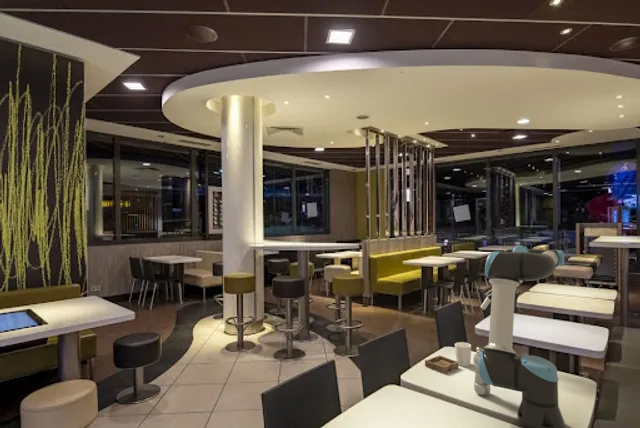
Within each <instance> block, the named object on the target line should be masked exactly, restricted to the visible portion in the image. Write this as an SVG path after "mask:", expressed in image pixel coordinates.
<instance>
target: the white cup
mask: <svg viewBox="0 0 640 428" xmlns="http://www.w3.org/2000/svg"><path fill="white" fill-rule="evenodd" d="M454 349H455V361H457V362H458V366H459V365H460V366H461V367H470V366H471V361H472V344H470V343H468V342H464V341H460V342H459V341H457V342H455V343H454Z"/></svg>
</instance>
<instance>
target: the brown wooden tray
mask: <svg viewBox="0 0 640 428" xmlns="http://www.w3.org/2000/svg"><path fill="white" fill-rule="evenodd" d="M425 366H426V368H428V369H430V368H431V370H433V371H435V370H436V371H435V372H438V373H441V374H443V375H445V374H447V373H450V372H452V371H454V370H457V369H459V365H458V362H457V361H456V360H453V359H451V358H447V357H445V356H444V355H443V356H442V355H437V356H434V357H431V358H429V359H426V360H424V367H425Z"/></svg>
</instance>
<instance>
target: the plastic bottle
mask: <svg viewBox="0 0 640 428" xmlns="http://www.w3.org/2000/svg"><path fill="white" fill-rule="evenodd" d="M484 347H485V346H483V345H482V346H481V345H478V346H476V349H475V350H476V353H475V354H474V356H473V359H472V360H473V364H474V374H475V376H474V385H473V387H474V391H475V393H476V394H478V395H479V396H484V397H485V396H489V395H490V394H491V385H489V384H486V383H484V382H483V381H482V379H481V377H480V374H479V368H478V357H479V353H480V352H484Z"/></svg>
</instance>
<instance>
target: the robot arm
mask: <svg viewBox="0 0 640 428" xmlns="http://www.w3.org/2000/svg"><path fill="white" fill-rule="evenodd" d="M564 264H565V252H564V251H563V250H559V249H531V248H527V246H524V245H516V246H515V247H514V248H513V249H512V251H501V250H500V251H491V252H490V253H489V254H488V255H487V257H486V261H485V264H484V265H485V266H484V275H485V277H486V279H488V282H489V283H490V285H491V289H489V290H488V291H487V292H486V293H484V296H485V299H484V300H483V302H482V304H481V305H480V308H481V309H482V310H483V311H485V310H486V309H487V307H488V306H489V304H490V316H489V333H488V343H487V345H485V346H483V347H484V352H480V353H479V357H478V368H479V374H480V377H481V379H482V381H483V382H484V383H486V384H489V385H490V386H493V387H497V388H501V389H506V390H511V391H516V392H520V393H521V401H520V404H519V407H518V409H517V421H518V423H519V424H520V425H521V426H522V427H524V428H565V427H566V424H565V423H566V422H565V419H564V417H563V415H562V411H561V409H560V407H559V387H558V386H559V383H558V382H559V375H558V369H557V366H555V364H554V363H553V362H551V361H549V360H548V359H545V358H543V357H541V356H536V355H532V354H531V355H529V354H525V355H522V356H521V358H518V357H517V352H516V351H515V350H514V348H513V337H514V319H515V318H514V317H515V309H516V308H517V303H518V297H519V294H520V291H521V290H519V287H520V286H521V284H522V283H523V281H524V282H528V281H530V282H532V281H540V280H541V279H546V278H547V277H550V276H551V275H553V274H554V272H555V270H556V269H557V268H556V267H560V266H562V267H563V266H564Z"/></svg>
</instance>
